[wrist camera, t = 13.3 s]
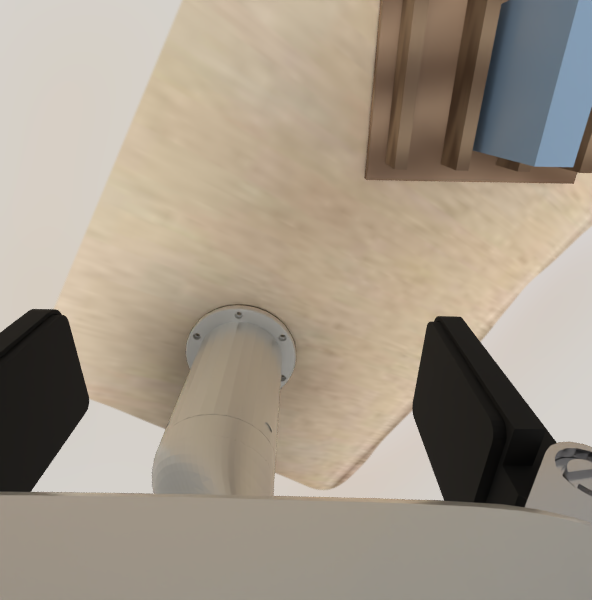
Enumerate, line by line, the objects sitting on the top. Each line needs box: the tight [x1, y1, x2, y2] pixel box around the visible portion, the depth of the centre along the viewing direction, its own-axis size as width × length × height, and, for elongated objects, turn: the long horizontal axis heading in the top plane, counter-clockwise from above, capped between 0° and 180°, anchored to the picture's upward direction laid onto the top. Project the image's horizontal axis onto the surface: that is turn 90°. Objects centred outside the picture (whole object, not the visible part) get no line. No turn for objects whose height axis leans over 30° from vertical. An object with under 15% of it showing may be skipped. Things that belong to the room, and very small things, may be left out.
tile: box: [473, 0, 592, 167], centre depth 28 cm, size 10×2×12 cm, turn 179°
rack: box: [365, 0, 592, 184], centre depth 32 cm, size 16×19×5 cm
